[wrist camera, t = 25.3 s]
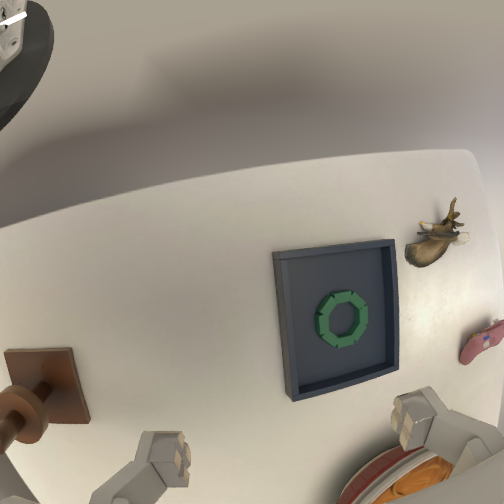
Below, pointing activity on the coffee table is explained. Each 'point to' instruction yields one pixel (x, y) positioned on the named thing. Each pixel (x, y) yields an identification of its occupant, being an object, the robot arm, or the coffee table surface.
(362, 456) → the coffee table surface
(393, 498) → the bowl
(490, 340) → the video game controller
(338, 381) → the tray
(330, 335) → the ring
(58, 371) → the peg stand
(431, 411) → the robot arm
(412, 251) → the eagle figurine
